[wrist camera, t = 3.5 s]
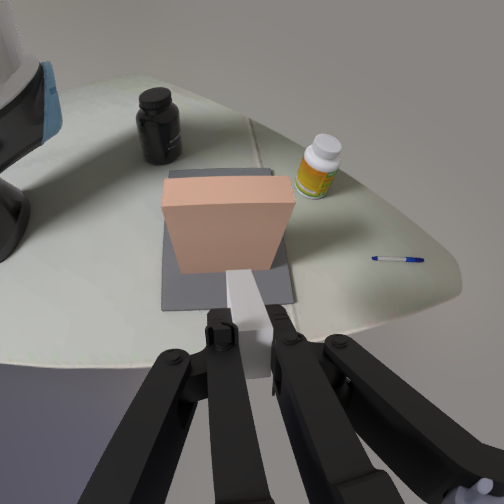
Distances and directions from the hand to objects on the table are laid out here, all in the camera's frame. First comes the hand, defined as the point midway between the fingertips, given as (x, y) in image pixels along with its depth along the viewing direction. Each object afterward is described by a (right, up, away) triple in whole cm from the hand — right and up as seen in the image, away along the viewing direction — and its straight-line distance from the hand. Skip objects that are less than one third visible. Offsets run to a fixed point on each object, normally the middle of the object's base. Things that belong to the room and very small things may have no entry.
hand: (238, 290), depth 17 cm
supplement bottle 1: (-14, +19, +27) cm, 36 cm away
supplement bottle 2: (+10, +13, +26) cm, 31 cm away
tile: (-3, +1, +18) cm, 18 cm away
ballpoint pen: (+24, +1, +22) cm, 32 cm away
